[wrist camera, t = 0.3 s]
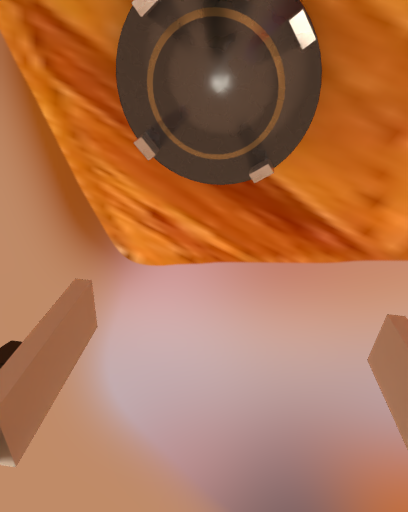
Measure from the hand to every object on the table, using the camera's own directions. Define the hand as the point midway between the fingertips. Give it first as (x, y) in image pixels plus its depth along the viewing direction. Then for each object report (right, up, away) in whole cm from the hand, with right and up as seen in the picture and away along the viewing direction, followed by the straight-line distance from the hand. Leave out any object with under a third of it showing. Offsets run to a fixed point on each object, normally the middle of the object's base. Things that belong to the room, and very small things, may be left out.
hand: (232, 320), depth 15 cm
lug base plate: (0, +20, +18) cm, 27 cm away
